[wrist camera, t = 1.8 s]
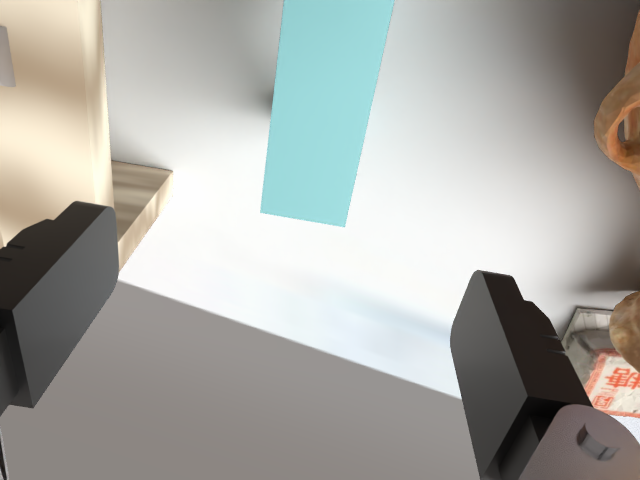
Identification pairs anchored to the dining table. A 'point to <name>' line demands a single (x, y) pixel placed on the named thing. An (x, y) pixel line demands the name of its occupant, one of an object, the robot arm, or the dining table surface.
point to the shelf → (64, 124)
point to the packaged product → (601, 364)
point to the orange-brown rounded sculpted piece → (636, 156)
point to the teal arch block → (322, 105)
